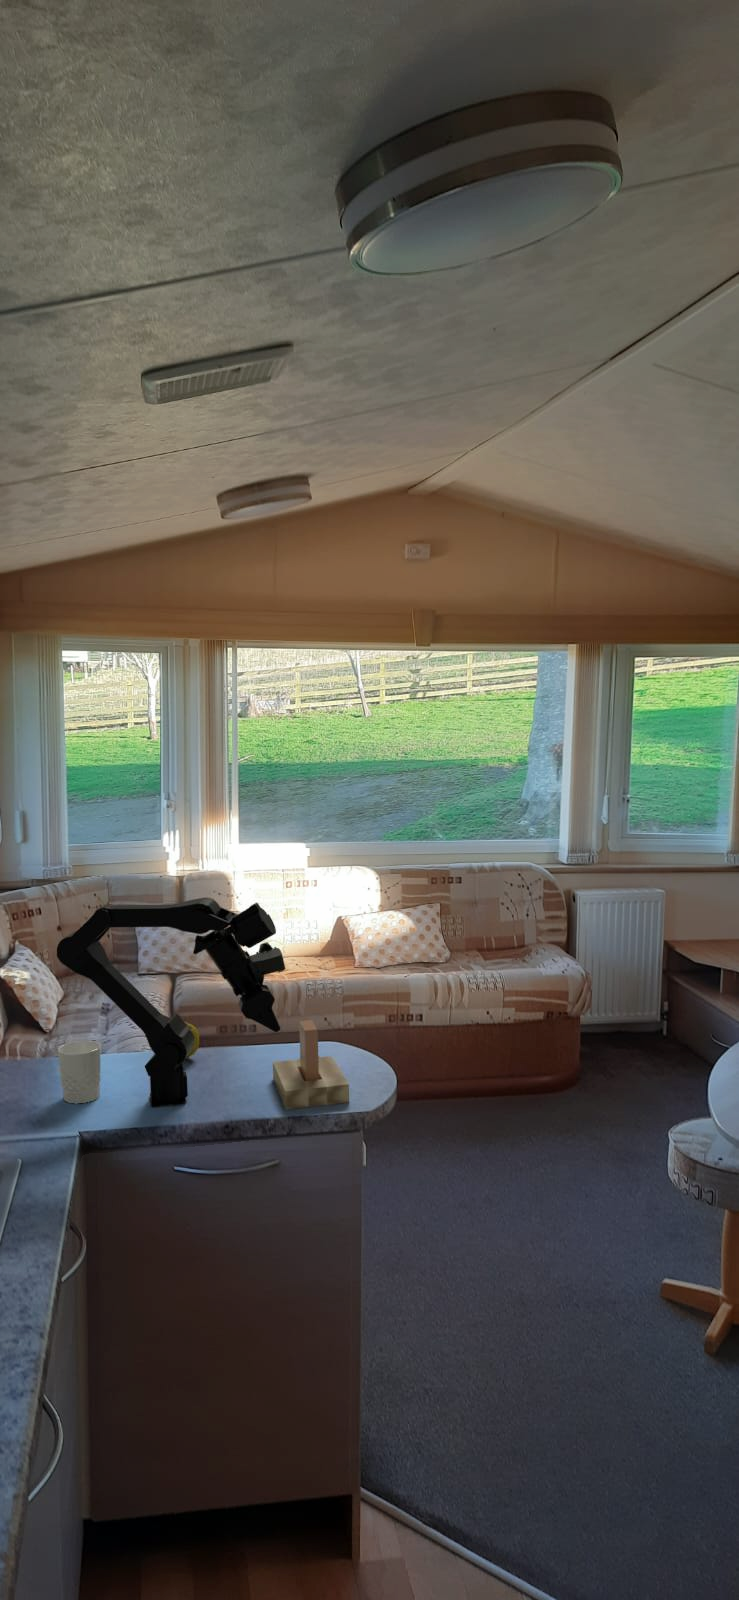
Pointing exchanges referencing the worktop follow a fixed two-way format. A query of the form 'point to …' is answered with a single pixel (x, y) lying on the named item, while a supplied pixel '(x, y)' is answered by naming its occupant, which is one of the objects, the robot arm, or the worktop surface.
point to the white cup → (80, 1071)
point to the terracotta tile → (309, 1050)
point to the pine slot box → (310, 1084)
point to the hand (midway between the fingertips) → (274, 1021)
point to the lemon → (196, 1040)
